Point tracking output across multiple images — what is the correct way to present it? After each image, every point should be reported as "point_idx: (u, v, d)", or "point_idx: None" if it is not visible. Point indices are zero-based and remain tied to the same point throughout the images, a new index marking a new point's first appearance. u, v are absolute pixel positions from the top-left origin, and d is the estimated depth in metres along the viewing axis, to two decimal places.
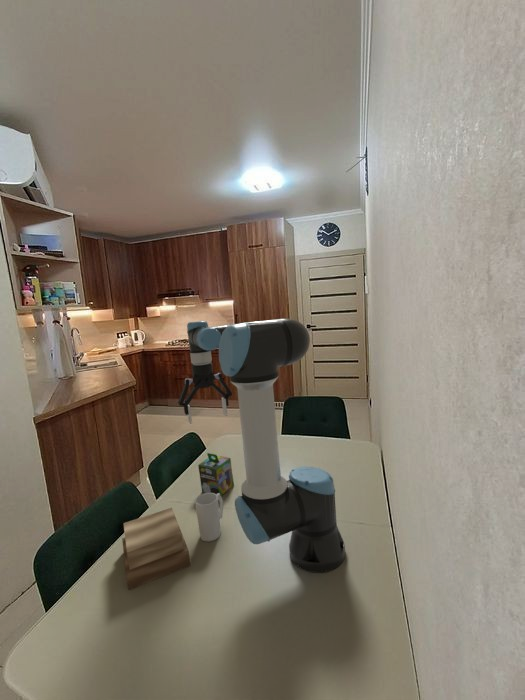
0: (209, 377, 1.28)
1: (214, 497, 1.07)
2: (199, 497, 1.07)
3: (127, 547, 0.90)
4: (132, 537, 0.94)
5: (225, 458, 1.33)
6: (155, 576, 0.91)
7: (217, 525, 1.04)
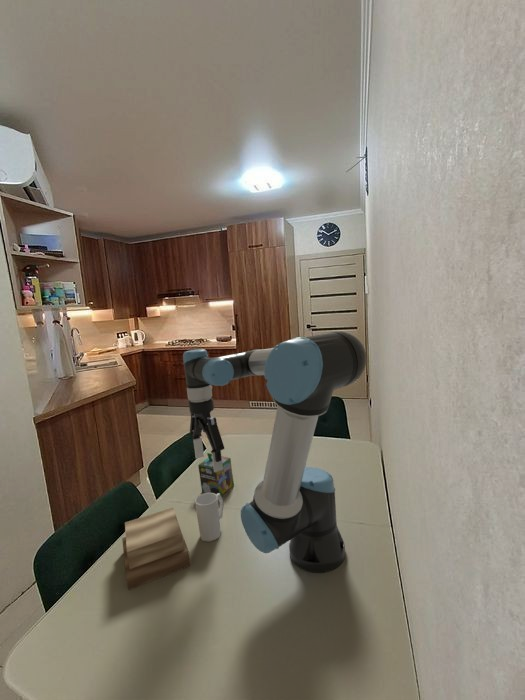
0: (202, 418, 1.06)
1: (214, 497, 1.07)
2: (199, 497, 1.07)
3: (127, 547, 0.90)
4: (132, 536, 0.94)
5: (225, 458, 1.33)
6: (155, 576, 0.91)
7: (217, 525, 1.04)
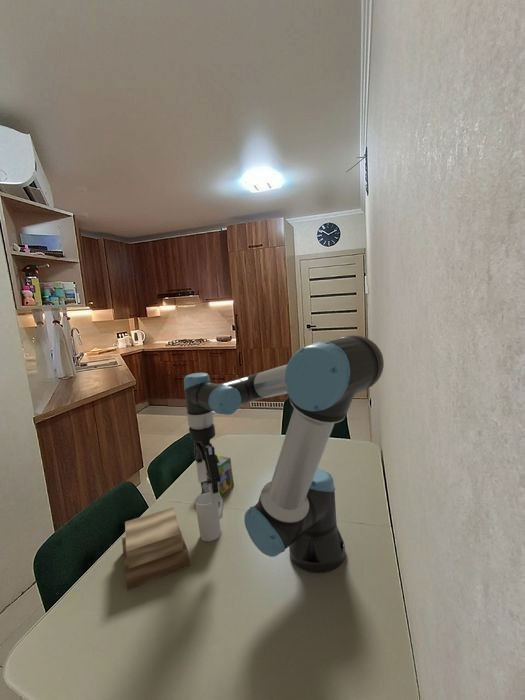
0: (201, 445, 1.02)
1: None
2: (199, 497, 1.07)
3: (126, 546, 0.90)
4: (132, 536, 0.94)
5: (225, 458, 1.33)
6: (154, 576, 0.91)
7: (217, 525, 1.04)
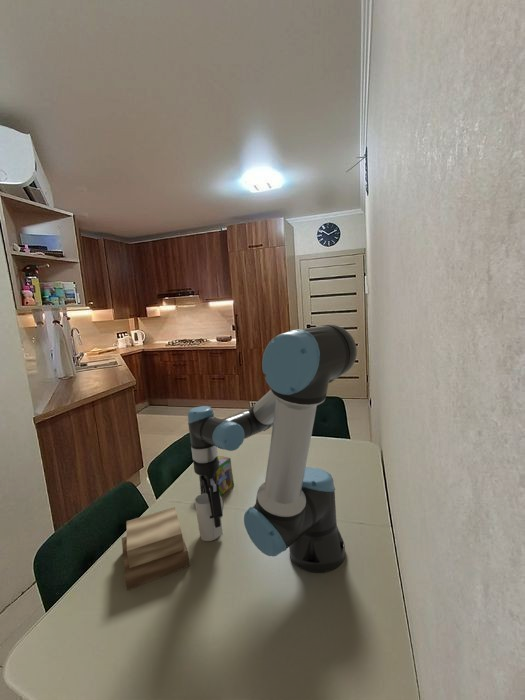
0: (205, 478, 1.03)
1: None
2: (199, 497, 1.07)
3: (127, 545, 0.90)
4: (133, 535, 0.94)
5: (225, 458, 1.33)
6: (154, 576, 0.91)
7: None
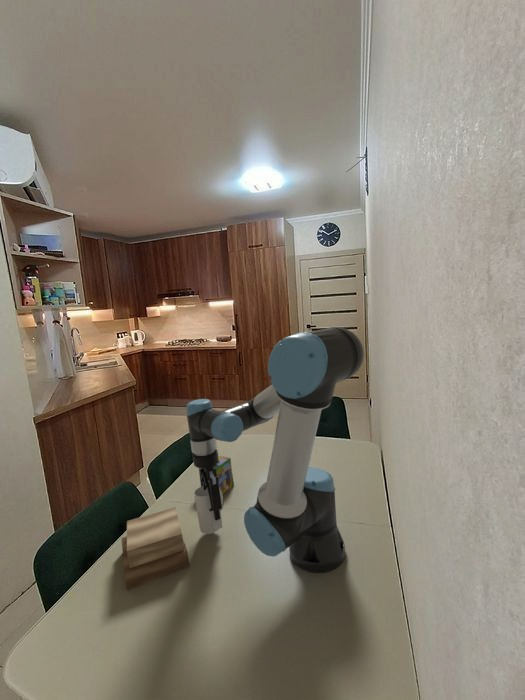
0: (205, 470, 1.02)
1: None
2: (198, 490, 1.07)
3: (127, 545, 0.90)
4: (133, 535, 0.94)
5: (225, 458, 1.33)
6: (154, 576, 0.90)
7: None
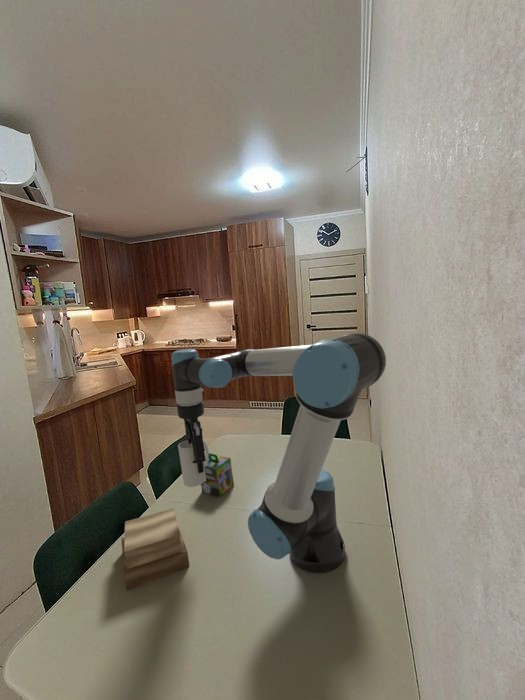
0: (189, 422, 0.99)
1: None
2: (183, 443, 1.04)
3: (125, 546, 0.90)
4: (131, 536, 0.94)
5: (225, 458, 1.33)
6: (154, 576, 0.90)
7: None
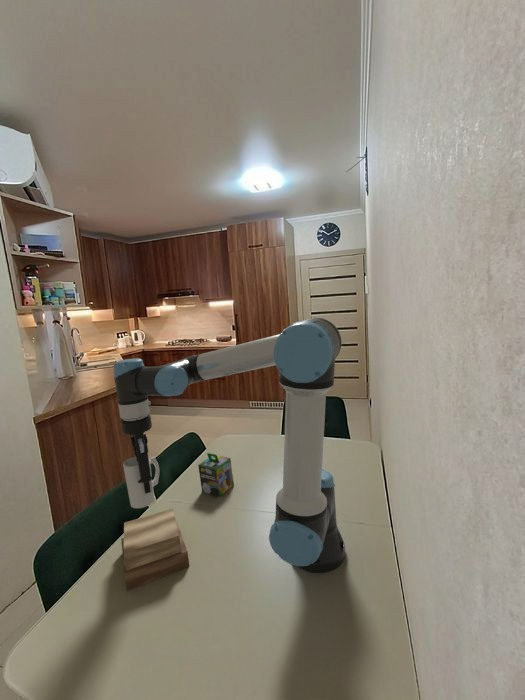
0: (134, 438, 0.91)
1: None
2: (130, 460, 0.96)
3: (124, 548, 0.90)
4: (130, 537, 0.94)
5: (225, 458, 1.33)
6: (154, 576, 0.90)
7: None
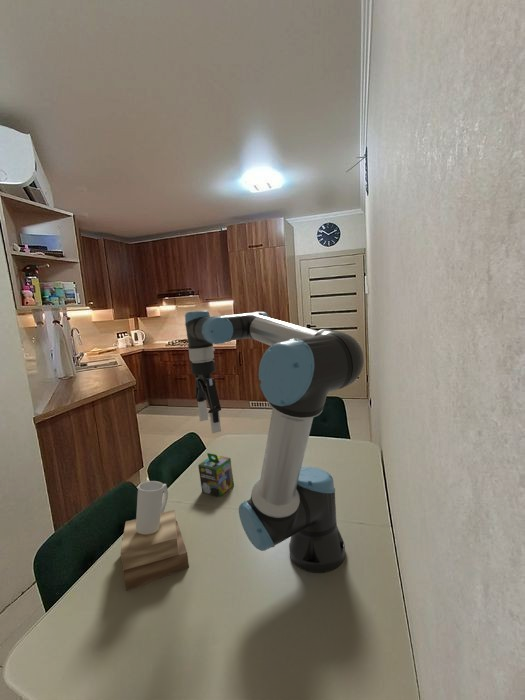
0: (202, 379, 1.06)
1: (160, 486, 0.98)
2: (143, 484, 0.98)
3: (122, 547, 0.90)
4: (129, 537, 0.94)
5: (225, 458, 1.33)
6: (153, 577, 0.90)
7: (157, 517, 0.95)
